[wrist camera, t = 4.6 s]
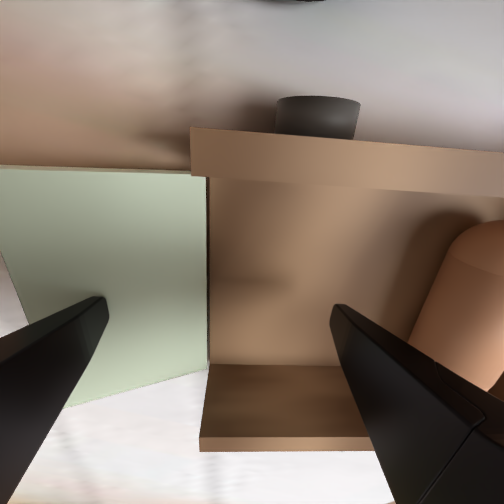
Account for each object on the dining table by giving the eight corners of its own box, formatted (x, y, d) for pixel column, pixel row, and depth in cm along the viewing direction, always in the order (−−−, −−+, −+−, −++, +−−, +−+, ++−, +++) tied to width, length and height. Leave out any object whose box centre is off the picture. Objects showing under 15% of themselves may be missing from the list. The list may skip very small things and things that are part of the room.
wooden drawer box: (651, 140, 10) (944, 137, 6) (488, 379, 16) (576, 462, 12) (212, 100, 9) (187, 62, 5) (211, 375, 14) (200, 466, 10)
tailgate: (205, 174, 8) (-32, 168, 6) (207, 368, 12) (62, 409, 10) (198, 170, 9) (-6, 163, 7) (201, 349, 13) (70, 381, 11)
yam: (517, 212, 10) (633, 241, 7) (441, 354, 13) (498, 415, 10) (444, 207, 10) (531, 234, 7) (385, 353, 13) (427, 414, 10)
